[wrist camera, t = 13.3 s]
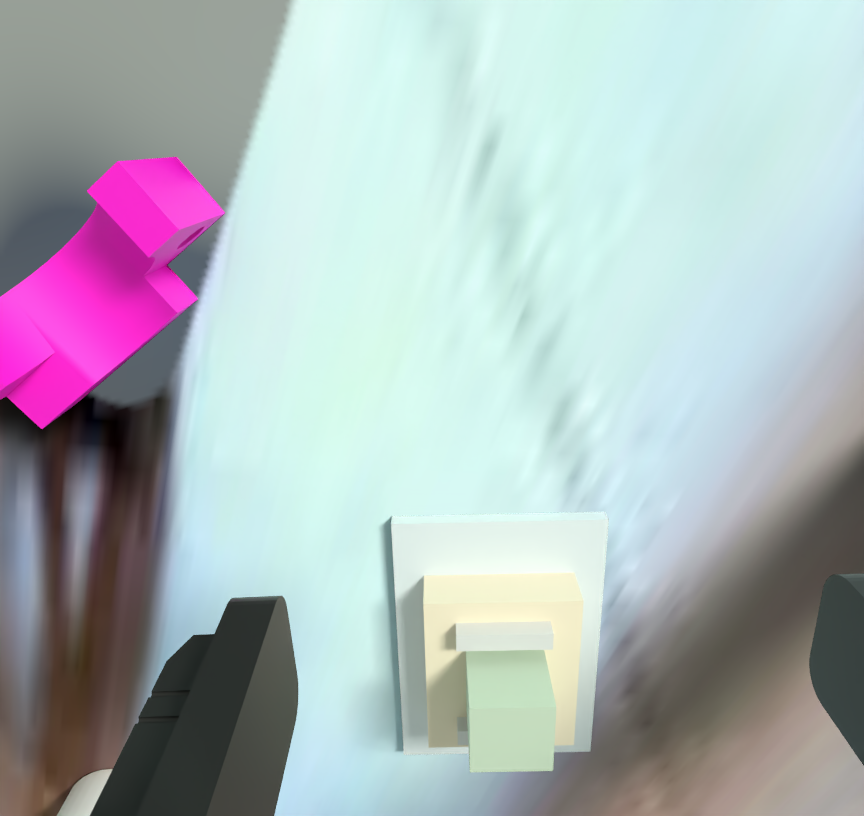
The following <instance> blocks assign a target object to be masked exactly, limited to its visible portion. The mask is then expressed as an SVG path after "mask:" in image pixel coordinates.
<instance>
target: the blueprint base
mask: <svg viewBox="0 0 864 816" xmlns="http://www.w3.org/2000/svg"><path fill="white" fill-rule="evenodd" d="M608 523H609V519H608V517H607V515H606V512H565V513H517V514H469V515H422V516H392V521H391V531H392V549H393V568H394V586H395V604H396V622H397V641H398V659H399V677H400V695H401V713H402V732H403V750H404V755H420V754H469V747H468V729H467V712H466V651H507V650H544V651H545V656H546V661H547V665H548V670H549V675H550V679H551V684H552V689H553V693H554V698H555V703H556V725H555V744H554V752H590V750H591V737H592V725H593V712H594V699H595V687H596V674H597V662H598V649H599V636H600V624H601V611H602V599H603V586H604V574H605V561H606V548H607V536H608Z"/></svg>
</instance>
